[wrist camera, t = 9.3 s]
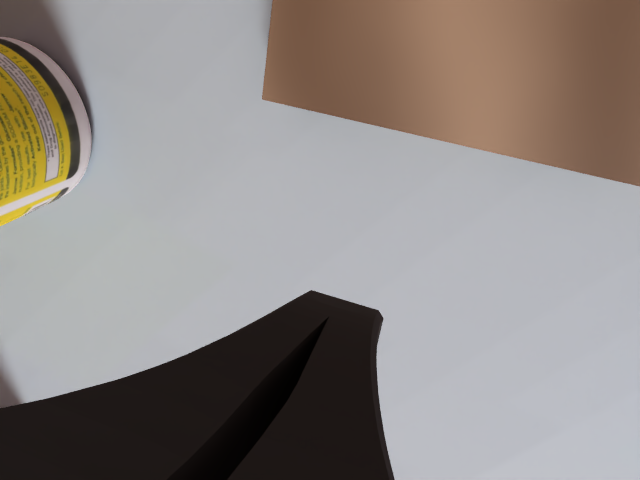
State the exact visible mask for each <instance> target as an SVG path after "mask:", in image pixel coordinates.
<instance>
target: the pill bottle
mask: <svg viewBox="0 0 640 480" xmlns="http://www.w3.org/2000/svg"><path fill="white" fill-rule="evenodd" d="M91 143H92V137H91V128H90V123H89V120H88V116H87V113H86V110H85V107H84V104H83V102H82V100H81V98H80V95H79V94H78V92H77V90H76V88H75V86H74V85H73V83H72V82H71V80H70V79H69V78H68V76H67V75H66V74H65V73H64V71H63V70H62V69H61V68H60V67H59V66H58V65H57V64H56V63H55V62H54V61H53V60H52V59H51V58H50V57H49V56H47V55H46V54H45V53H43V52H42V51H40V50H39V49H37V48H36V47H34V46H32V45H30V44H28V43H25V42H23V41H20V40H17V39H13V38H7V37H0V226H2V225H4V224H6V223H8V222H10V221H12V220H15V219H17V218H19V217H22V216H24V215H26V214H28V213H30V212H32V211H34V210H36V209H38V208H40V207H42V206H44V205H47V204H49V203H51V202H53V201H55V200H57V199H59V198H61V197H62V196H64V195H66V194H67V193H69V192H70V191H71V190H72V189H73V188H74V187H75V186H76V185H77V184H78V183H79V182H80V180H81V179H82V177H83V175H84V173H85V171H86V169H87V166H88V163H89V159H90V154H91Z"/></svg>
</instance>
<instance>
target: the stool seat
mask: <svg viewBox="0 0 640 480" xmlns="http://www.w3.org/2000/svg"><path fill="white" fill-rule="evenodd" d="M262 99H263V100H267V101H272V102H276V103H280V104H285V105H289V106H293V107H298V108H302V109H306V110H311V111H315V112H319V113H324V114H328V115H332V116H337V117H341V118H345V119H350V120H354V121H358V122H363V123H367V124H371V125H376V126H380V127H384V128H389V129H393V130H398V131H402V132H406V133H411V134H415V135H419V136H424V137H428V138H432V139H437V140H441V141H445V142H450V143H454V144H458V145H463V146H467V147H471V148H476V149H480V150H484V151H489V152H493V153H497V154H502V155H506V156H510V157H515V158H519V159H523V160H528V161H532V162H537V163H541V164H545V165H550V166H554V167H558V168H563V169H567V170H571V171H576V172H580V173H584V174H589V175H593V176H597V177H602V178H606V179H610V180H615V181H619V182H623V183H628V184H632V185H636V186H640V0H273V2H272V11H271V20H270V30H269V39H268V48H267V58H266V67H265V76H264V86H263V95H262Z"/></svg>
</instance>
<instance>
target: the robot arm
mask: <svg viewBox="0 0 640 480" xmlns="http://www.w3.org/2000/svg"><path fill="white" fill-rule="evenodd" d="M382 322H383V317H382V315H381V314H380V312H379V310H375V309H372V308H369V307H365V306H362V305H359V304H355V303H352V302H349V301H345V300H342V299H339V298H335V297H332V296H329V295H325V294H322V293H319V292H316V291H312V290H311V291H309V292H307V293H305V294H303V295H301V296H300V297H298V298H296V299H294V300H292V301H290V302H289V303H287V304H285V305H283V306H282V307H280V308H278V309H276V310H275V311H273V312H271V313H269V314H267V315H266V316H264V317H262V318H260V319H258V320H257V321H255V322H253V323H251V324H249V325H247V326H245V327H243V328H241V329H239V330H238V331H236V332H234V333H232V334H230V335H228V336H226V337H224V338H222V339H219V340H217V341H215V342H213V343H211V344H209V345H206V346H204V347H202V348H200V349H198V350H195V351H193V352H191V353H189V354H187V355H184V356H182V357H179V358H177V359H175V360H172V361H169V362H167V363H164V364H162V365H159V366H156V367H153V368H150V369H148V370H145V371H142V372H139V373H136V374H133V375H130V376H127V377H124V378H121V379H118V380H115V381H111V382H107V383H104V384H100V385H96V386H93V387H89V388H85V389H81V390H78V391H74V392H70V393H67V394H63V395H59V396H56V397H52V398H47V399H43V400H39V401H34V402H29V403H24V404H20V405H15V406H10V407H5V408H0V480H394V476H393V472H392V468H391V464H390V460H389V455H388V451H387V446H386V441H385V436H384V431H383V424H382V418H381V411H380V404H379V396H378V383H377V367H376V353H377V343H378V339H379V335H380V330H381V326H382Z"/></svg>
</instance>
